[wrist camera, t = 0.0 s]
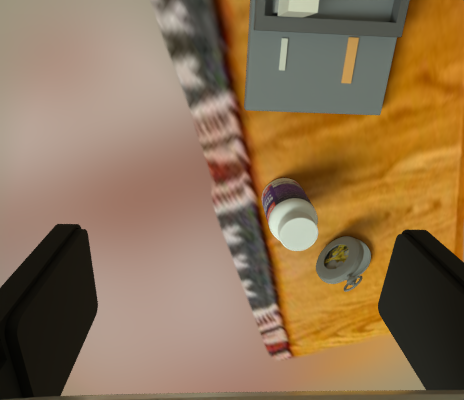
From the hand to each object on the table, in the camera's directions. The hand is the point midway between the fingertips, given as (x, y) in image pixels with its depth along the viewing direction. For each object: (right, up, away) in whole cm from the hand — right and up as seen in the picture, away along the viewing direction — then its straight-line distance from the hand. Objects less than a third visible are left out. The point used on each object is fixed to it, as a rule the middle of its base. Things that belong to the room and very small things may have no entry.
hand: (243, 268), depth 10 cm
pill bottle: (+6, +3, +34) cm, 34 cm away
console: (+9, +23, +25) cm, 35 cm away
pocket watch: (+15, -5, +37) cm, 40 cm away
